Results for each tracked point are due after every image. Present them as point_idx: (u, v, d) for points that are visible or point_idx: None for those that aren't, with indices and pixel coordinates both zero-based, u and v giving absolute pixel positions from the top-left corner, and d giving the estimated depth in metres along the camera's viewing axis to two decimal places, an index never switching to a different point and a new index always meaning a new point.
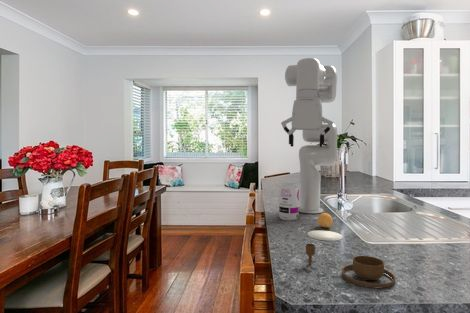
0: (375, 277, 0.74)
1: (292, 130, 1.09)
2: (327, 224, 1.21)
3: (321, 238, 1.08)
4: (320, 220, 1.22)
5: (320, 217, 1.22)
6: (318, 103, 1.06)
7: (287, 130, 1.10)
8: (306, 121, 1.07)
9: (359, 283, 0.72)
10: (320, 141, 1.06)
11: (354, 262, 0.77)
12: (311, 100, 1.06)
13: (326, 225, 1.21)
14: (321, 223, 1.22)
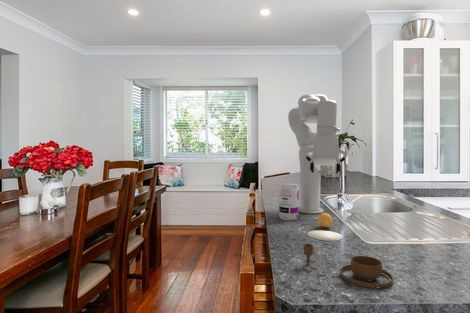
0: (373, 277, 0.74)
1: (313, 159, 1.31)
2: (327, 224, 1.21)
3: (321, 238, 1.08)
4: (320, 220, 1.22)
5: (320, 217, 1.22)
6: (335, 138, 1.27)
7: (309, 159, 1.32)
8: (325, 153, 1.28)
9: (357, 283, 0.72)
10: (337, 169, 1.28)
11: (352, 262, 0.76)
12: (329, 135, 1.27)
13: (326, 225, 1.21)
14: (321, 223, 1.22)
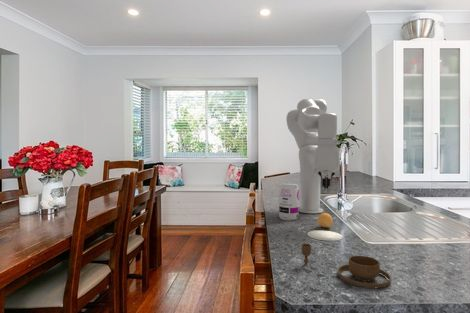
0: (371, 277, 0.74)
1: None
2: (327, 224, 1.21)
3: (321, 238, 1.08)
4: (320, 220, 1.22)
5: (320, 217, 1.22)
6: (336, 150, 1.28)
7: (321, 174, 1.31)
8: (326, 165, 1.29)
9: (355, 283, 0.72)
10: (327, 184, 1.30)
11: (350, 262, 0.77)
12: (330, 147, 1.28)
13: (326, 225, 1.21)
14: (321, 223, 1.22)
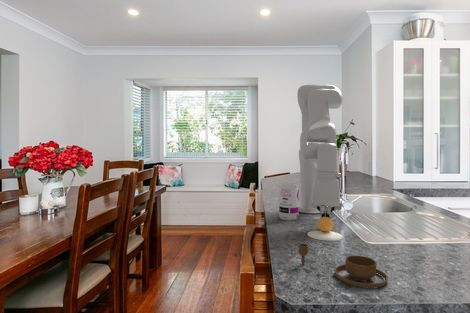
0: (367, 277, 0.74)
1: None
2: None
3: (321, 238, 1.08)
4: None
5: None
6: (336, 184, 1.18)
7: (320, 209, 1.21)
8: (326, 199, 1.19)
9: (351, 283, 0.72)
10: None
11: (347, 262, 0.76)
12: (330, 181, 1.19)
13: None
14: None
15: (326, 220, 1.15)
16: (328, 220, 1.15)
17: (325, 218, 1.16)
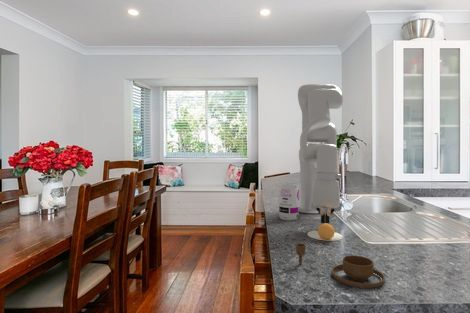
0: (364, 277, 0.74)
1: None
2: (329, 233, 1.05)
3: (321, 238, 1.08)
4: (320, 229, 1.06)
5: (320, 226, 1.07)
6: (336, 185, 1.17)
7: (319, 210, 1.20)
8: (325, 201, 1.18)
9: (348, 283, 0.72)
10: (326, 221, 1.19)
11: (344, 262, 0.76)
12: (330, 182, 1.17)
13: (327, 235, 1.05)
14: (321, 233, 1.06)
15: None
16: None
17: None
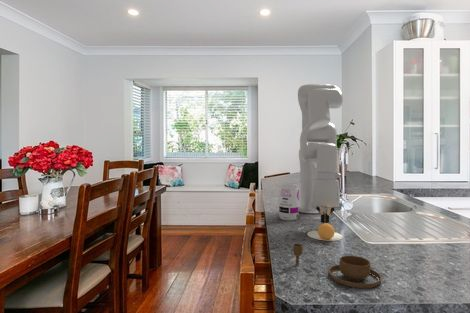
0: (361, 277, 0.74)
1: None
2: (329, 233, 1.05)
3: (321, 238, 1.08)
4: (320, 229, 1.06)
5: (320, 226, 1.07)
6: (336, 184, 1.17)
7: (319, 210, 1.21)
8: (325, 200, 1.18)
9: (345, 283, 0.72)
10: (325, 220, 1.19)
11: (341, 262, 0.76)
12: (330, 182, 1.18)
13: (327, 235, 1.05)
14: (321, 233, 1.06)
15: None
16: None
17: None
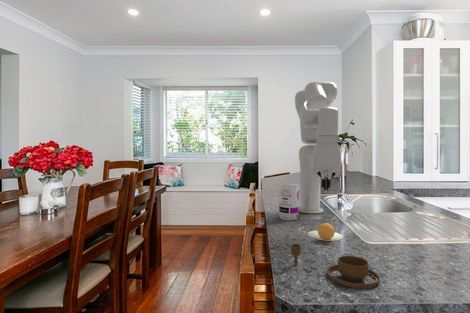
0: (359, 277, 0.74)
1: None
2: (329, 233, 1.05)
3: (321, 238, 1.08)
4: (320, 229, 1.06)
5: (320, 226, 1.07)
6: (337, 148, 1.17)
7: (320, 175, 1.20)
8: (326, 164, 1.18)
9: (343, 283, 0.72)
10: (326, 185, 1.19)
11: (339, 262, 0.76)
12: (331, 145, 1.17)
13: (327, 235, 1.05)
14: (321, 233, 1.06)
15: None
16: None
17: None
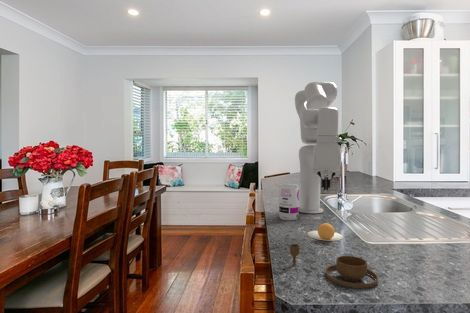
0: (358, 277, 0.74)
1: None
2: (329, 233, 1.05)
3: (321, 238, 1.08)
4: (320, 229, 1.06)
5: (320, 226, 1.07)
6: (337, 148, 1.17)
7: (320, 175, 1.20)
8: (326, 164, 1.18)
9: (342, 283, 0.72)
10: (326, 185, 1.19)
11: (337, 262, 0.76)
12: (331, 145, 1.17)
13: (327, 235, 1.05)
14: (321, 233, 1.06)
15: None
16: None
17: None
